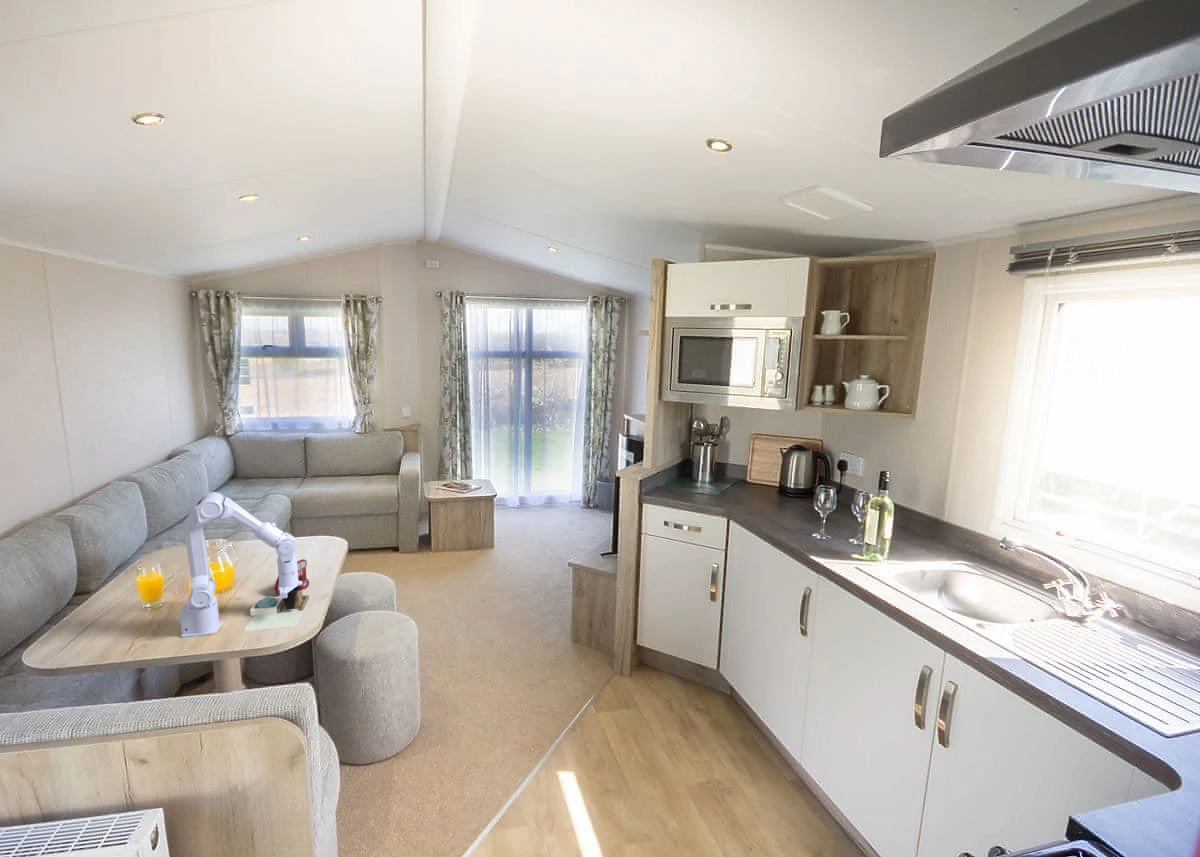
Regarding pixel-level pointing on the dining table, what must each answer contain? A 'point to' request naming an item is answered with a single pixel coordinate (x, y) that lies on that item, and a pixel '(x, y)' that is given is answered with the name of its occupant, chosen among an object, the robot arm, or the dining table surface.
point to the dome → (267, 602)
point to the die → (298, 600)
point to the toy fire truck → (301, 576)
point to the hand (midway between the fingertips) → (290, 608)
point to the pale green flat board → (275, 615)
